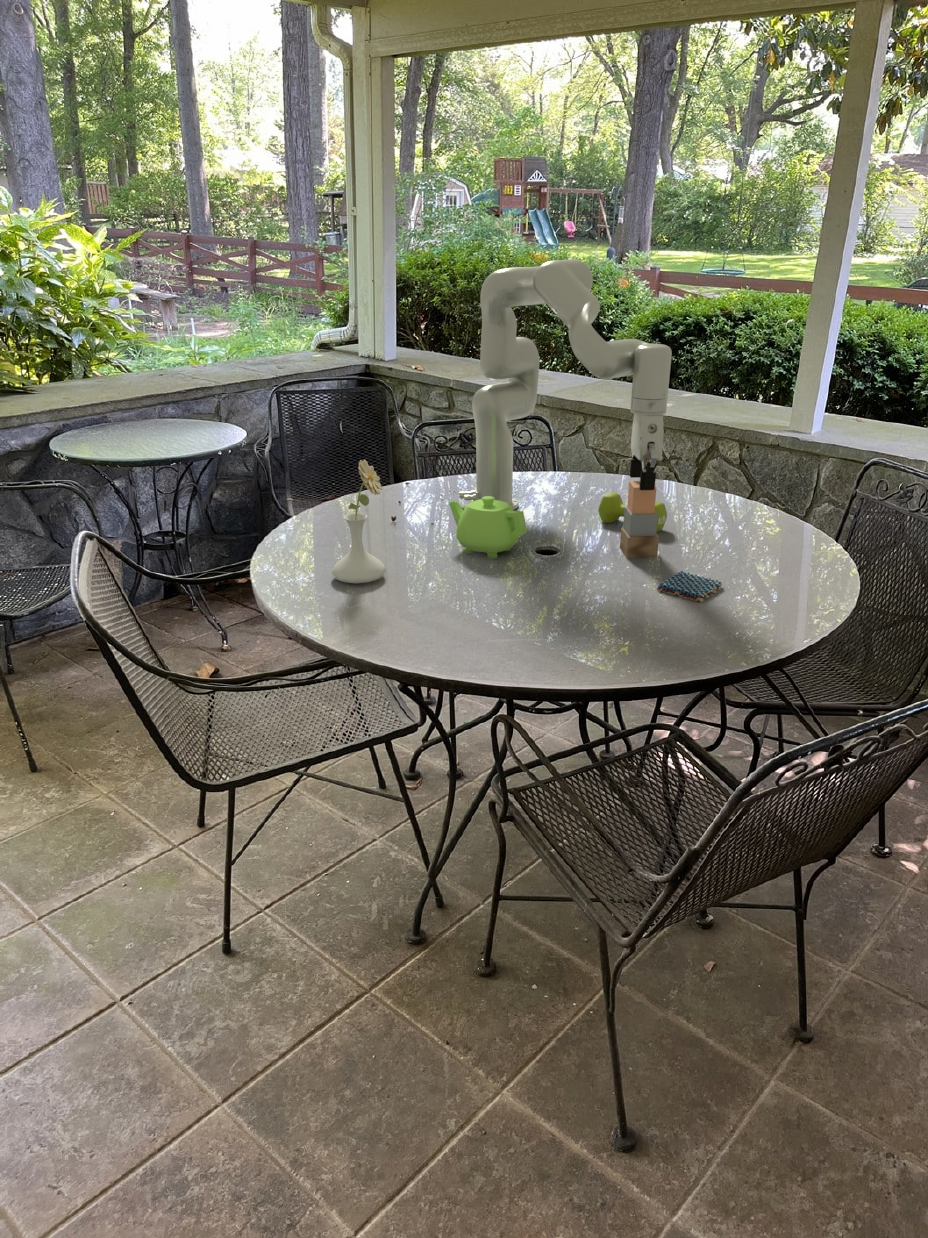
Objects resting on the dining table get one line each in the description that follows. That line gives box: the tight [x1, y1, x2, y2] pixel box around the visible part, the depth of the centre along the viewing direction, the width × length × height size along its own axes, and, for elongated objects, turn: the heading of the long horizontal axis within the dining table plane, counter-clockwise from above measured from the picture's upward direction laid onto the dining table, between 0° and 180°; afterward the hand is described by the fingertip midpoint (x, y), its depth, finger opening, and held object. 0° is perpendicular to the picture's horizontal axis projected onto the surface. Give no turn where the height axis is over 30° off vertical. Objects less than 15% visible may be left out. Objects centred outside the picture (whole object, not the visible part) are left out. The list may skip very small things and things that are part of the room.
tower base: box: [619, 526, 660, 559], centre depth 197 cm, size 7×7×5 cm
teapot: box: [448, 496, 528, 559], centre depth 198 cm, size 20×13×13 cm
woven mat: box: [656, 570, 723, 603], centre depth 178 cm, size 10×11×2 cm
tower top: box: [622, 507, 658, 537], centre depth 195 cm, size 6×6×5 cm
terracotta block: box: [627, 480, 657, 514], centre depth 193 cm, size 5×5×6 cm
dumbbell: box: [598, 491, 668, 534], centre depth 214 cm, size 16×8×7 cm, turn 48°
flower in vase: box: [331, 459, 387, 584], centre depth 181 cm, size 13×11×25 cm
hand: (641, 483), depth 191 cm, fingers open, 9 cm apart
